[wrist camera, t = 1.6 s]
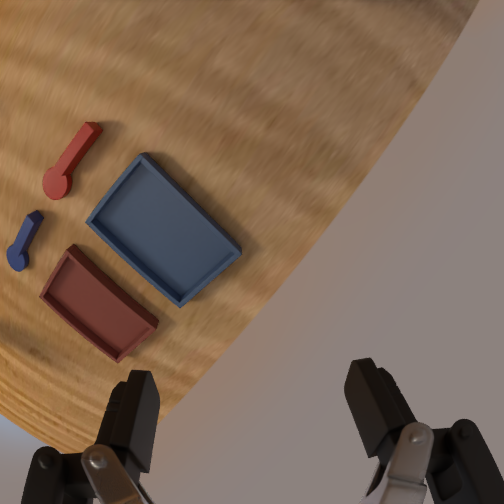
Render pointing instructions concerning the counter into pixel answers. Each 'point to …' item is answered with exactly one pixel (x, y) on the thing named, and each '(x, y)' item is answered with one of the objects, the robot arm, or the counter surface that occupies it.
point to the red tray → (96, 306)
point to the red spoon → (69, 162)
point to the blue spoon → (23, 241)
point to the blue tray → (162, 231)
